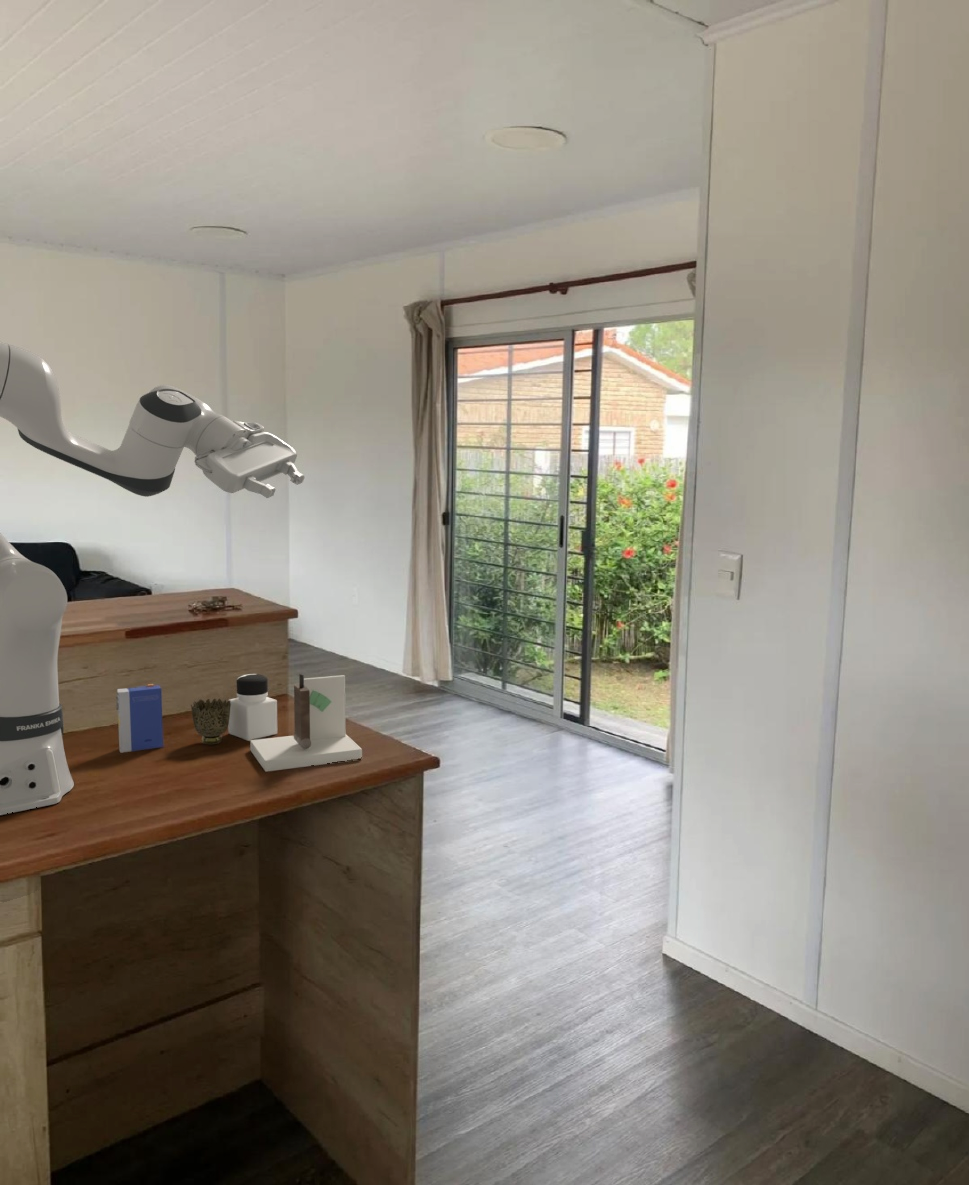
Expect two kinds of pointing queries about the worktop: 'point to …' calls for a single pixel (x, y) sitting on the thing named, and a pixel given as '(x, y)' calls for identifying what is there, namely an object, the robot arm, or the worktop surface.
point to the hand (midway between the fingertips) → (287, 487)
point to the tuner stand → (313, 731)
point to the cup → (211, 719)
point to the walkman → (140, 718)
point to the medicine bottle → (252, 709)
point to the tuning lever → (302, 714)
